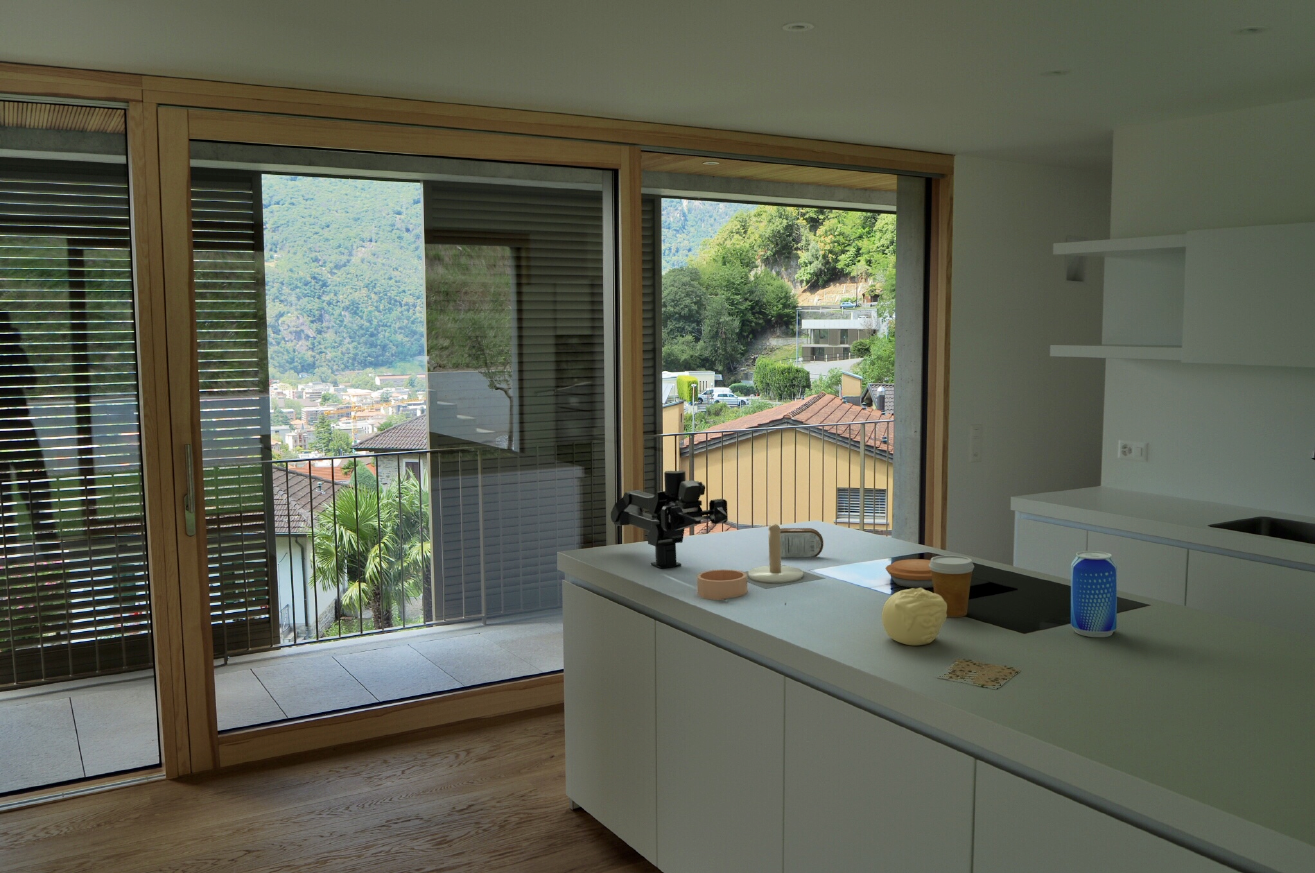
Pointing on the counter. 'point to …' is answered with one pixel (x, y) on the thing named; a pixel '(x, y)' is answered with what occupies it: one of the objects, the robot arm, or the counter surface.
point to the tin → (800, 542)
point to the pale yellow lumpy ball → (914, 616)
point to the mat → (805, 578)
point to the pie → (911, 573)
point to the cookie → (981, 672)
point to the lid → (775, 563)
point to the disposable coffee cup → (952, 582)
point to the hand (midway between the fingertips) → (711, 519)
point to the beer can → (1094, 594)
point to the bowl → (721, 584)
